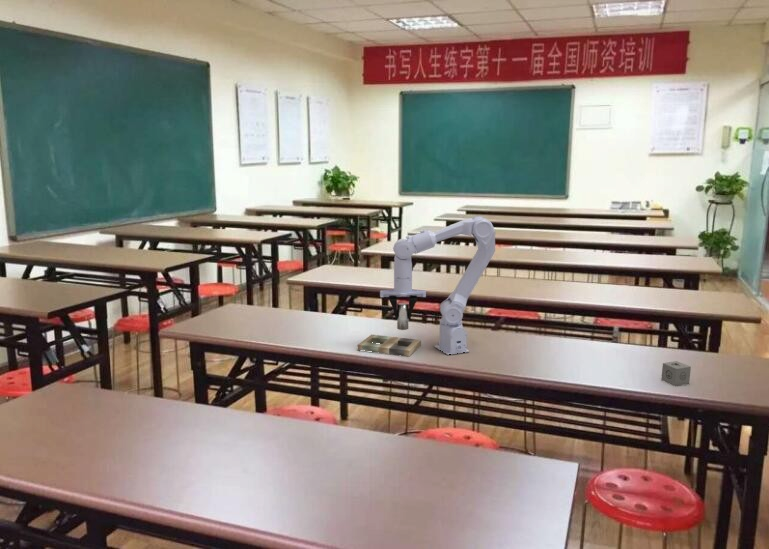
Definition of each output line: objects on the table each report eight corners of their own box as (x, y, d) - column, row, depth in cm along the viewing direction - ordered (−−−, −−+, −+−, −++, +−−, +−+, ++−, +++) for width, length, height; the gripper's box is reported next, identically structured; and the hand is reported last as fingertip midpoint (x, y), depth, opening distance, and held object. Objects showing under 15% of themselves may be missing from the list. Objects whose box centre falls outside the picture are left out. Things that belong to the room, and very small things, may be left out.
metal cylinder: (410, 329, 200) (410, 305, 199) (399, 330, 199) (400, 306, 197) (405, 326, 203) (405, 302, 202) (395, 327, 202) (395, 303, 200)
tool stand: (420, 345, 207) (420, 339, 206) (409, 356, 196) (409, 350, 195) (371, 340, 213) (371, 334, 212) (357, 350, 202) (357, 344, 201)
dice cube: (675, 377, 177) (676, 361, 176) (689, 383, 173) (690, 366, 172) (661, 380, 176) (662, 363, 175) (675, 386, 171) (676, 368, 170)
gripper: (380, 279, 194) (380, 322, 197) (426, 279, 194) (426, 321, 197) (380, 275, 201) (380, 316, 203) (425, 275, 201) (424, 316, 204)
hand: (402, 318), depth 200 cm, fingers closed on metal cylinder, 4 cm apart
